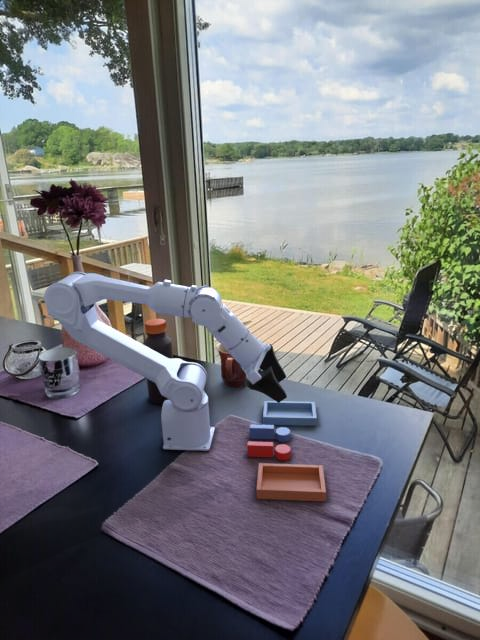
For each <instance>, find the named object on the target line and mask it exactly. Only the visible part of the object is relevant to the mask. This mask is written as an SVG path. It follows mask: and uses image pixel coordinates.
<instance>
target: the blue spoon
mask: <svg viewBox="0 0 480 640" xmlns="http://www.w3.org/2000/svg"><path fill="white" fill-rule="evenodd" d="M249 439H250V440H275V439H276V440H277V441H278V442H280V443H287V442H289V441H290V440H291V429H289V428H288V427H285V426H281V427H277V428H276V430H275V425H263V424H249Z"/></svg>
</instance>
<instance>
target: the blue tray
mask: <svg viewBox="0 0 480 640" xmlns="http://www.w3.org/2000/svg"><path fill="white" fill-rule="evenodd" d="M262 425H274V426H302V427H303V426H304V427H305V426H306V427H307V426H308V427H317V425H318V416H317V407H316V402H315V401H301V400H300V401H299V400H298V401H297V400H296V401H295V400H282V401H281V402H279V403H278V402H276V401H275V400H264V401H263V412H262Z"/></svg>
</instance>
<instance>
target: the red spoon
mask: <svg viewBox="0 0 480 640" xmlns="http://www.w3.org/2000/svg"><path fill="white" fill-rule="evenodd" d="M246 449H247V457H248V458H274V456H275V458H276V460H280V461H287V460H289V459H290V458H291V457H292V448H291V446H290V445H288V444H285V443H281V444H278V445H276V446H275V448H274V441H247V447H246Z"/></svg>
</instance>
